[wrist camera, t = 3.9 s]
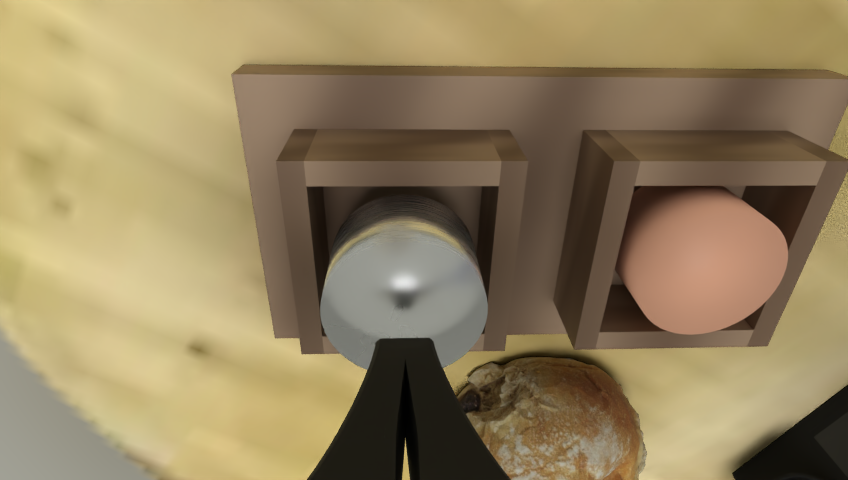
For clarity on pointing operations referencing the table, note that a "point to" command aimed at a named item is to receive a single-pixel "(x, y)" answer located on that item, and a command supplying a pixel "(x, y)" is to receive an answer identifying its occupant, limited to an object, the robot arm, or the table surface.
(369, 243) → the grey plunger
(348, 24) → the table surface
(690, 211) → the tan rounded piece
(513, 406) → the bread roll
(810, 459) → the digital camera
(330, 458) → the robot arm
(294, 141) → the brown wooden tray
